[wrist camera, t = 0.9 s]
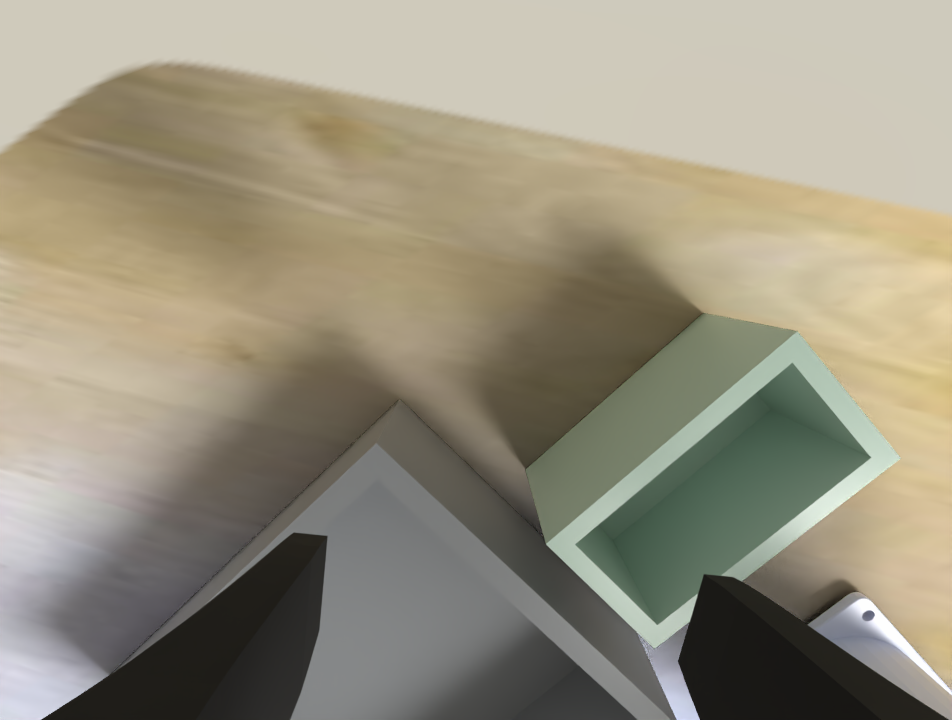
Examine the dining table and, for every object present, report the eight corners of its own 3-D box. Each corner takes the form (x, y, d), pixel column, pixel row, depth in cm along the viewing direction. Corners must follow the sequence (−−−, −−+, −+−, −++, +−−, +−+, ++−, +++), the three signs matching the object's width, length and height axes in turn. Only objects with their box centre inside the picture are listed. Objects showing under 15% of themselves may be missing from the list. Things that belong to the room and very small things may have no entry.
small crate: (782, 405, 18) (900, 458, 13) (606, 550, 19) (654, 648, 14) (703, 312, 17) (797, 331, 12) (525, 469, 18) (545, 544, 13)
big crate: (633, 624, 20) (680, 727, 15) (345, 851, 22) (314, 997, 18) (399, 398, 18) (376, 442, 13) (108, 676, 20) (5, 793, 15)
